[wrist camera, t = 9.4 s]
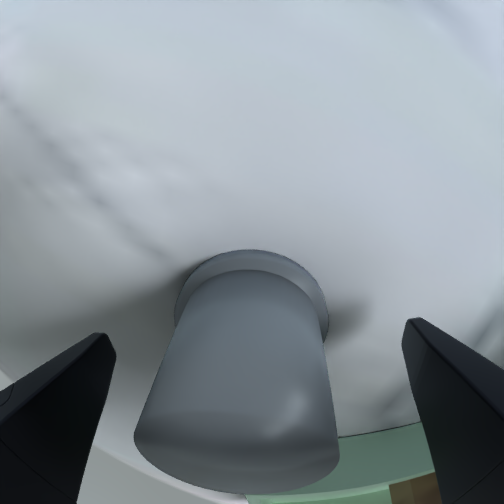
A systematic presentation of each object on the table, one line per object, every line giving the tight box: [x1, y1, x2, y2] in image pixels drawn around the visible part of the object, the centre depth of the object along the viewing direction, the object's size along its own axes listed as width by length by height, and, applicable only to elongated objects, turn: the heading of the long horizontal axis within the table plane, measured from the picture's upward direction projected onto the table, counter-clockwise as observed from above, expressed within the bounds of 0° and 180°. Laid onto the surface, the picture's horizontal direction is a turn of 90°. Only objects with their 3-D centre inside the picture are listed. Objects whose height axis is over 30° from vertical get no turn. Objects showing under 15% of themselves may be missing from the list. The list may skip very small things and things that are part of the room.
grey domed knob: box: [134, 250, 340, 494], centre depth 7 cm, size 5×5×5 cm
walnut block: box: [389, 472, 442, 504], centre depth 11 cm, size 4×4×5 cm
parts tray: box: [245, 422, 435, 504], centre depth 12 cm, size 14×10×3 cm
